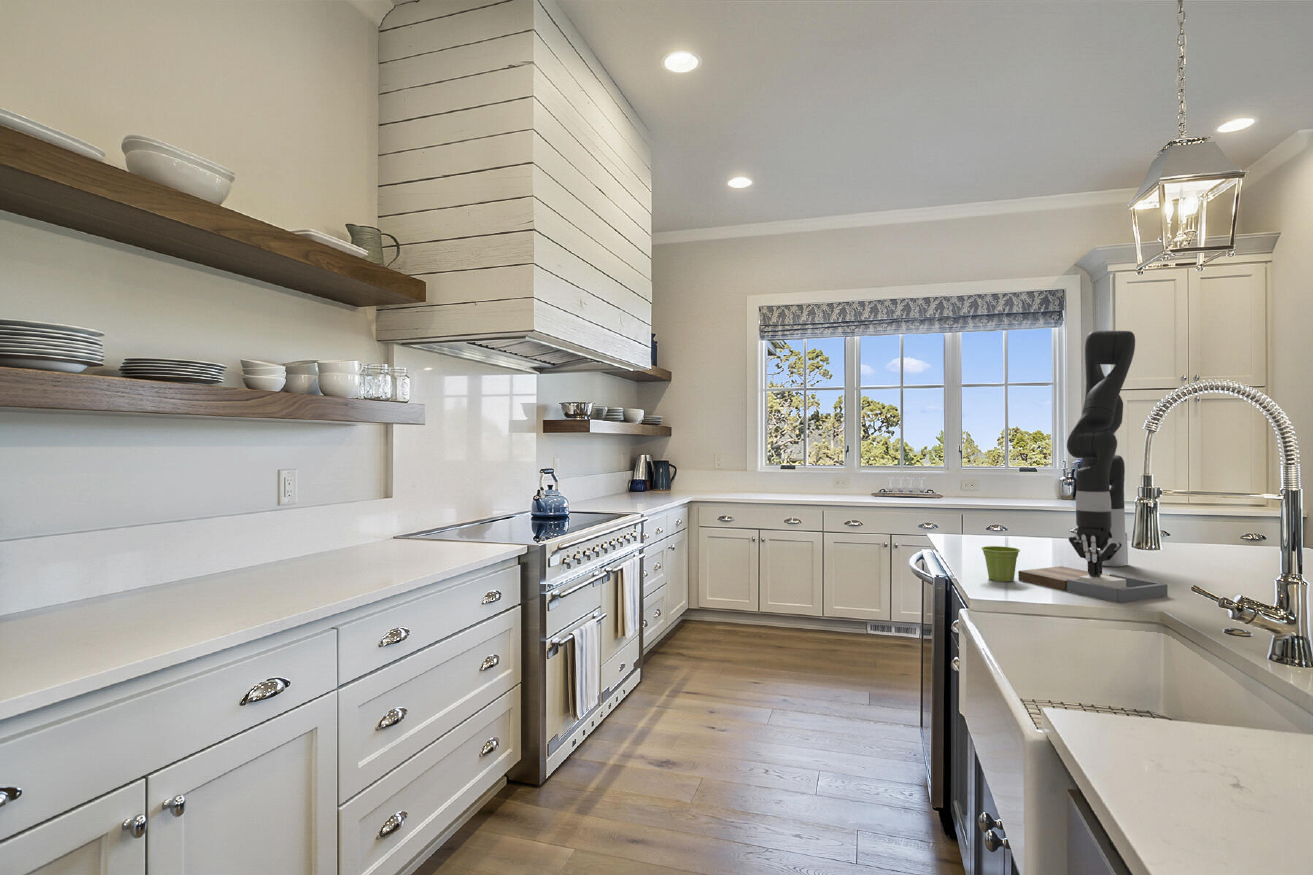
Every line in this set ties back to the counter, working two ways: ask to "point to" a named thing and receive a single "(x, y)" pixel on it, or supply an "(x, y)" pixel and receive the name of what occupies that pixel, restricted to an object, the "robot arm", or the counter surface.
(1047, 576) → the brown square board
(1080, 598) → the counter surface
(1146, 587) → the tray
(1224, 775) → the counter surface
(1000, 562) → the plant pot
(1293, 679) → the counter surface
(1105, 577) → the tile
